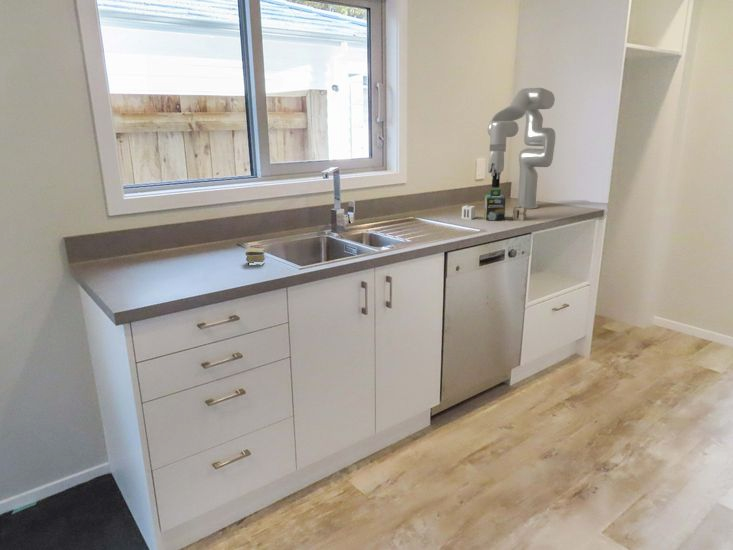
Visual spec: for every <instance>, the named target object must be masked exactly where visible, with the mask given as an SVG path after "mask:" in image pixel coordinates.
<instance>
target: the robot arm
mask: <svg viewBox="0 0 733 550" xmlns="http://www.w3.org/2000/svg"><path fill="white" fill-rule="evenodd" d="M554 104H555V94H554V93H553V92H552V91H550V90H548V89H546V88H543V87H528V88H527V87H526V88H521V89H519V91H518V92H517V93H516V95H515V97H514V99H513V100H512V102H511V103H510V105H508V106H506V107H505V108H503V109H502V110H500V111H498V112H497V113H495V114H494V116H493V117H492V118H491V120H490V122H489V124H488V126H487V133H488V135H489V136H490V137H489V156H488V165H487V173H488V174H489V173H490V174H491V179H492V180H491V188H493V189H494V188H495V189H498V188H500V182H501V181H500V180H501V174H502V173H503V172H504V169H505V153H506V151H507V150H506V149H507V138H512V137H515V136H516V135H517V134H518V132H519V124H518V123H517V122H516V120H519V119H522V118H523V117H524V116H525V128H524V134H523V135H524V137H523V141H524V144H525V145H526V146H530V148H524V149H522V150H520V151H519V154H518V162H519V163H518V164H519V165H518V166H519V178H518V192H517V193H518V195H517V203H516V204H514V207H516V206H522V207H527V209H526V210H530V209H531V210H532V209H538V208H539V205H538V204H537V203H536V202H537V190H538V177H539V176H538V172H537V170H536V168H548V167H551V165H552V164H553V159H554V152H555V146H556V145H555V144H556V132H555V129H554V128H552V127H543V124H544V123H543V122H544V117H543V114H542V113H541V111H540V110H550V109H552V108H553V106H554ZM531 147H543V148H531Z"/></svg>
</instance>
